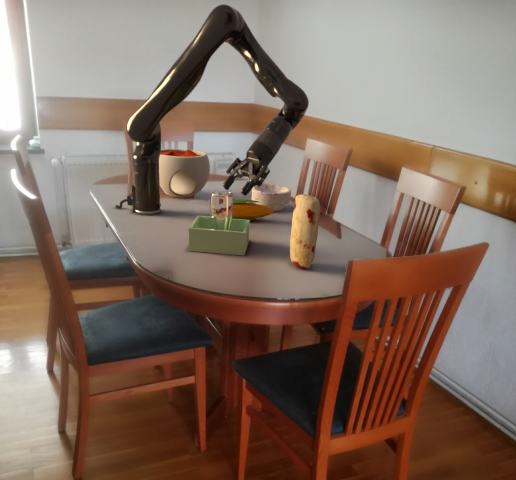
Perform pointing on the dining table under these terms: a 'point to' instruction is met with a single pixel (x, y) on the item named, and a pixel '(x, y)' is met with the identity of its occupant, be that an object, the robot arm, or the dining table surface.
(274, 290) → the dining table surface
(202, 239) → the tub
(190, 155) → the pot
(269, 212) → the corn
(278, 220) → the dining table surface
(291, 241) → the food model
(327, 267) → the dining table surface
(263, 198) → the paper bowls
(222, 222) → the beer glass
